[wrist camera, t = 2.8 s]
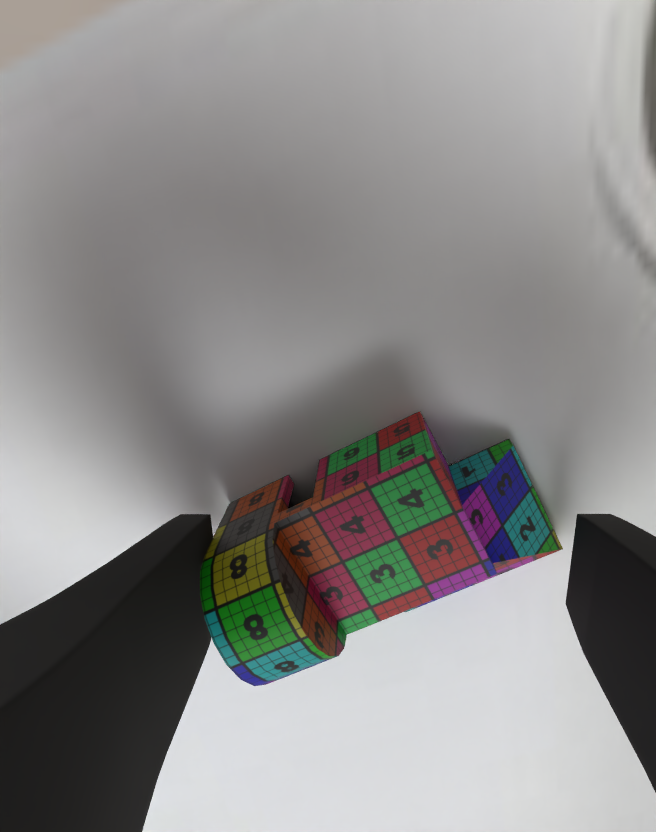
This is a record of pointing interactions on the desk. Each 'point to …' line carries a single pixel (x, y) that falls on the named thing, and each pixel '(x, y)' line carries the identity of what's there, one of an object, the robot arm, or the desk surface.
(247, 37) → the desk surface
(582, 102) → the desk surface
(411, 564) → the block
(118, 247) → the desk surface
